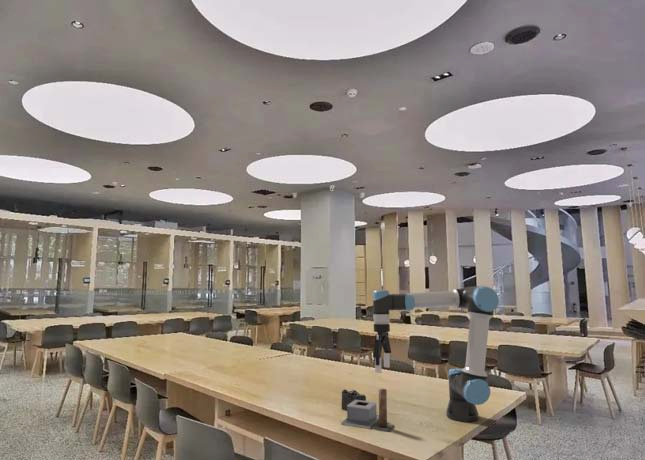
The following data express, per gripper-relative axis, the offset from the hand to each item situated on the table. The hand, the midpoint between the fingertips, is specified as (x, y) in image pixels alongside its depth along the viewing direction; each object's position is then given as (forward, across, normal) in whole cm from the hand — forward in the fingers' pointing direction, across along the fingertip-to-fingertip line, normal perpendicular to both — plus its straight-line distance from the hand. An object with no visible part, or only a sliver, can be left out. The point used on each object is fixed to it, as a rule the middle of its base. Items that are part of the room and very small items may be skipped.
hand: (382, 369), depth 187 cm
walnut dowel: (+25, 0, 0) cm, 25 cm away
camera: (+26, -20, -21) cm, 39 cm away
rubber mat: (+25, 0, 0) cm, 25 cm away
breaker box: (+25, -5, -12) cm, 29 cm away
